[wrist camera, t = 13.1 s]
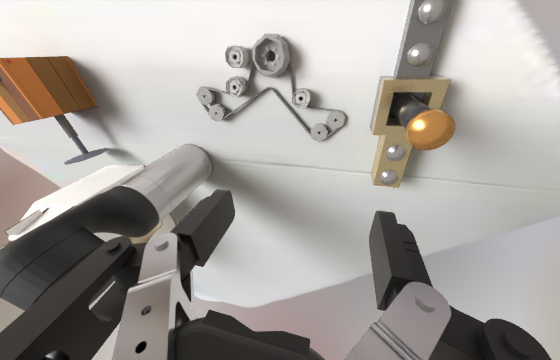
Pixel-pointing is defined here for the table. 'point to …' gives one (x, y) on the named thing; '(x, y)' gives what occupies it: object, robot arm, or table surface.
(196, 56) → the table surface
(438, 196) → the table surface
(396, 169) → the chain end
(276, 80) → the table surface
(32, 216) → the white open frame
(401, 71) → the chain end
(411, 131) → the pin
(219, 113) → the pulley system
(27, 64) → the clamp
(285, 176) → the table surface
